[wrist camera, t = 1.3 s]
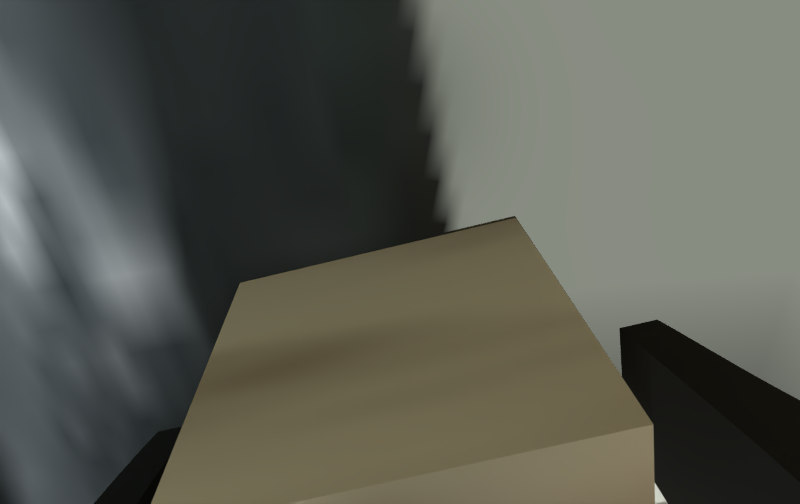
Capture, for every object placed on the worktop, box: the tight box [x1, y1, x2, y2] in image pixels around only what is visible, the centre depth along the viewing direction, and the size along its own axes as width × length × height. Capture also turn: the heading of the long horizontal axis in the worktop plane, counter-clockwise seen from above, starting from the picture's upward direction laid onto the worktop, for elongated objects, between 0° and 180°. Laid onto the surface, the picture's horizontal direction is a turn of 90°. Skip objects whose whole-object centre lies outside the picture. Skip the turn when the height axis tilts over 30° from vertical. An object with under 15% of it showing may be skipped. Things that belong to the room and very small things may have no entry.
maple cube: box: [151, 216, 655, 504], centre depth 8 cm, size 5×5×5 cm
